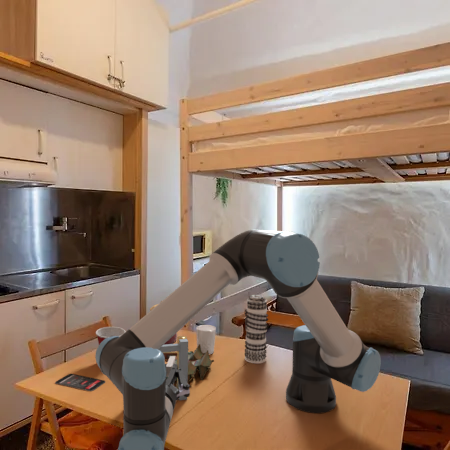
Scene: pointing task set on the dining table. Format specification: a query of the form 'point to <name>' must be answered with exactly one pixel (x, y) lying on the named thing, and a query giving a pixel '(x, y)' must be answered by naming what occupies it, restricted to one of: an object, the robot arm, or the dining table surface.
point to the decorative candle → (256, 329)
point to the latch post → (178, 353)
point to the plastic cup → (108, 333)
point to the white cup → (206, 338)
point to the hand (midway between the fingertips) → (172, 361)
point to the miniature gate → (194, 362)
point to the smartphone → (80, 382)
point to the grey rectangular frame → (183, 357)
